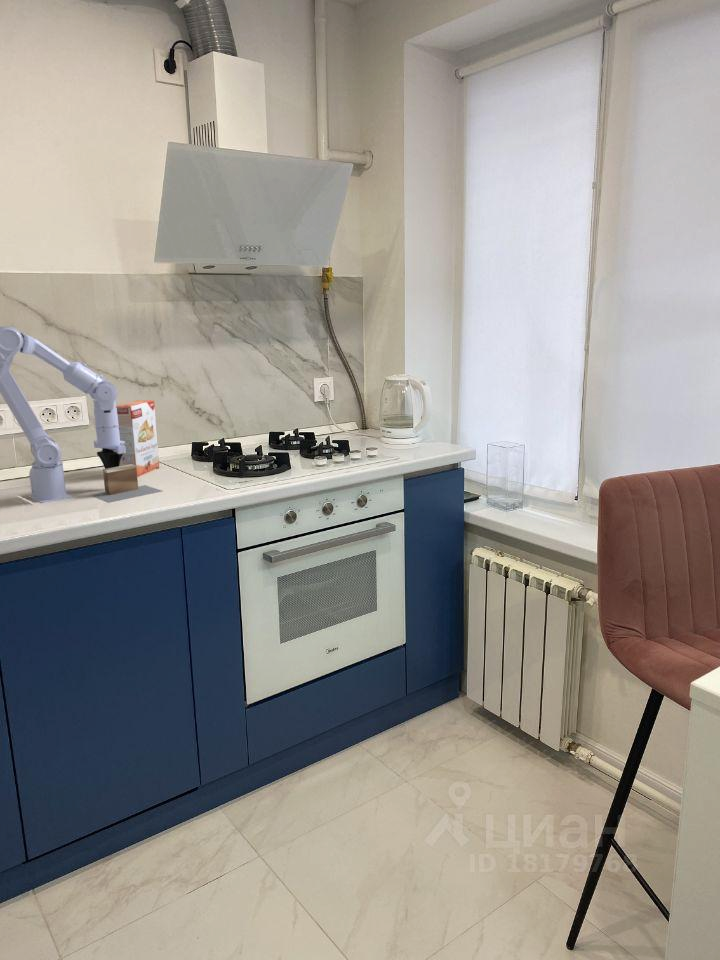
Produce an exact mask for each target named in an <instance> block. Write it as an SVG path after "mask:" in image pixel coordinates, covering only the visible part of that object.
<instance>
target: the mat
mask: <svg viewBox="0 0 720 960" xmlns="http://www.w3.org/2000/svg"><path fill="white" fill-rule="evenodd" d="M162 492H163V490H161V489H158V488H155V487H152V486H148V485H147V484H146V485H145V484H144V485H140V486H139V485H138V490H133V491H128V492H123V493H118V494H113V495H108V494H105V492H104V493H99V494H94V495H92V497H93V498H96V499H98V500H101V501H103V502H106V503H108V504H109V503H114V502H119V501H124V500H128V499H133V498H139V497H143V496H147V495H153V494H157V493H162Z"/></svg>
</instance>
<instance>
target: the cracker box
mask: <svg viewBox="0 0 720 960" xmlns="http://www.w3.org/2000/svg"><path fill="white" fill-rule="evenodd" d="M116 408H117V415H118V424H119V434H120V441H125V444H123V445H125V448H126V453H123V455H122V457H121V460H120V464H119V466H124V465H130V464H133V465H136V470H137V478H138V477H139V478H140V477H142V476H143V475H145V474H147V473H150V472H152V471H154V470H158V469H160V459H159V458H160V457H159V447H158V434H157V420H156V419H157V418H156V408H155V400H152V399H141V400H138V399H137V400H135V401H134V400H132V401H130V402H126V403H125V402H124V403H122V404H116Z"/></svg>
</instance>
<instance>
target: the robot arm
mask: <svg viewBox="0 0 720 960" xmlns="http://www.w3.org/2000/svg"><path fill="white" fill-rule="evenodd" d="M18 352H20V353H22V354H27V355H34V356H35V357H37V358H38V359H40V360H42V361H44V362H45V363H47V364H49V365H50V366H52V367H53V368H54V369H56V370H58V371H60V372H62V374H63V379H64V381H65V382H67V383H68V384H70V385H71V386H73V387H75V388H76V389H78V390H80V391H81V392H82V393H84V394H85V395H89V396H90V397H91V398H92V399H93V408H94V409H93V415H94V422H95V423H94V424H95V432H96V434H95V435H96V439H95V440H93V446H94V449H95V448H96V449H98V448H99V449H101V450H100V451H97V452H96V455H97V456H98V458H100V459H99V460H100V461H101V463H102V465H103V467H104V469H107V468H113V467H119V464H120V460H121V457H122V455H123V453H126V448H125V445H123V444H125V441H120V434H119V424H118V415H117V408H116V405H117V403H116V402H117V401H116V400H117V398H118V391H117V389H116V387H115V385H114V384H112V382H109V381H107V380H106V379H104V375H102V374H97V373H96V372H94V371H93V370H91V369H90V368H88V364H86V363H85V362H81V363H80V362H79V361H73V362H72V361H71V362H70V361H68V360H67V359H65V358H64V357H62V356H61V355H60V354H58V353H57V352H55V351H54V350H53V349H51V348H50V347H48V346H47V345H45V344H44V343H42V342H41V341H40V340H38V339H36V338H34V337H32V336H30V335H29V334H26V333H25V332H20V331H19V330H18V329H17V328H15V327H12V326H6V325H5V326H4V325H2V326H0V394H1V396H2V398H3V399H4V402H5V403H6V405H7V406H8V408H9V410H10V411H11V414H12V415H13V416H14V418H15V420H16V421H17V423H18V425H19V427H20V429H21V430H22V432H23V433H24V435H25V436H26V439H27V440H28V443H29V444H30V452H31V455H32V456H33V457H34V461H33V462H32V463H31V468H30V470H29V472H28V473H29V474H28V475H29V482H30V490H31V494H30V495H28V497H27V498H30V499H32V500H34V501H36V502H37V503H40V504H44V503H50V502H55V501H59V500H64V499H65V500H66V499H69V498H73V494H69V493H67V488H66V487H67V486H66V480H65V472H64V465H63V460H61V457H62V451H61V447H60V446H59V445H58V444H57V443H56V441H55V440H54V439H53V438H51V437H50V436H49V435H48V433H47V432H46V431H45V429H44V427H43V426H42V423H41V422H40V421H39V419H38V417H37V415H36V413H35V412H34V410H33V409H32V406H31V405H30V404H29V401H28V399H27V398H26V397H25V395H24V393H23V391H22V389H21V388H20V386H19V384H18V383H17V380H15V377H14V376H13V374H12V372H11V370H10V368H11V365H12V362H13V361H14V357H15V355H17V354H18Z"/></svg>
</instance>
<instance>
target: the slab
mask: <svg viewBox="0 0 720 960" xmlns="http://www.w3.org/2000/svg"><path fill="white" fill-rule="evenodd" d="M102 475H103V476H102V477H103V482H104V493H105V494H108V495H113V494H118V493H123V492H128V491H133V490H138V486H139V482H138V481H139V480H138V477H137V470H136V465H133V464H130V465H124V466H119V467H113V468H107V469H105V468H102Z"/></svg>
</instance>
